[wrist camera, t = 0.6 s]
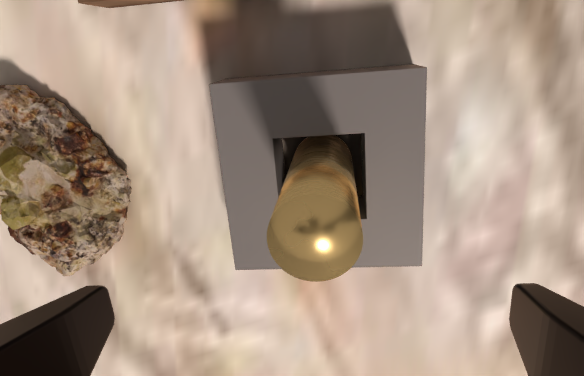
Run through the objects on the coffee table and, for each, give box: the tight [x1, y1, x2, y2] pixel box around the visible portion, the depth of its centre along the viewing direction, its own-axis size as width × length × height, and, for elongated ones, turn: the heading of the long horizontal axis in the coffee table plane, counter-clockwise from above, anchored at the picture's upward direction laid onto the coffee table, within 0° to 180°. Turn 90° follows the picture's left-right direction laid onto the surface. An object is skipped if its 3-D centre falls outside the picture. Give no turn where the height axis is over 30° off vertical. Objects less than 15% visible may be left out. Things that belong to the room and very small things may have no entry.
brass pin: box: [267, 135, 363, 281], centre depth 17 cm, size 3×3×9 cm
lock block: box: [209, 64, 427, 270], centre depth 20 cm, size 9×9×3 cm
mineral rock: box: [0, 85, 131, 276], centre depth 22 cm, size 11×4×8 cm
